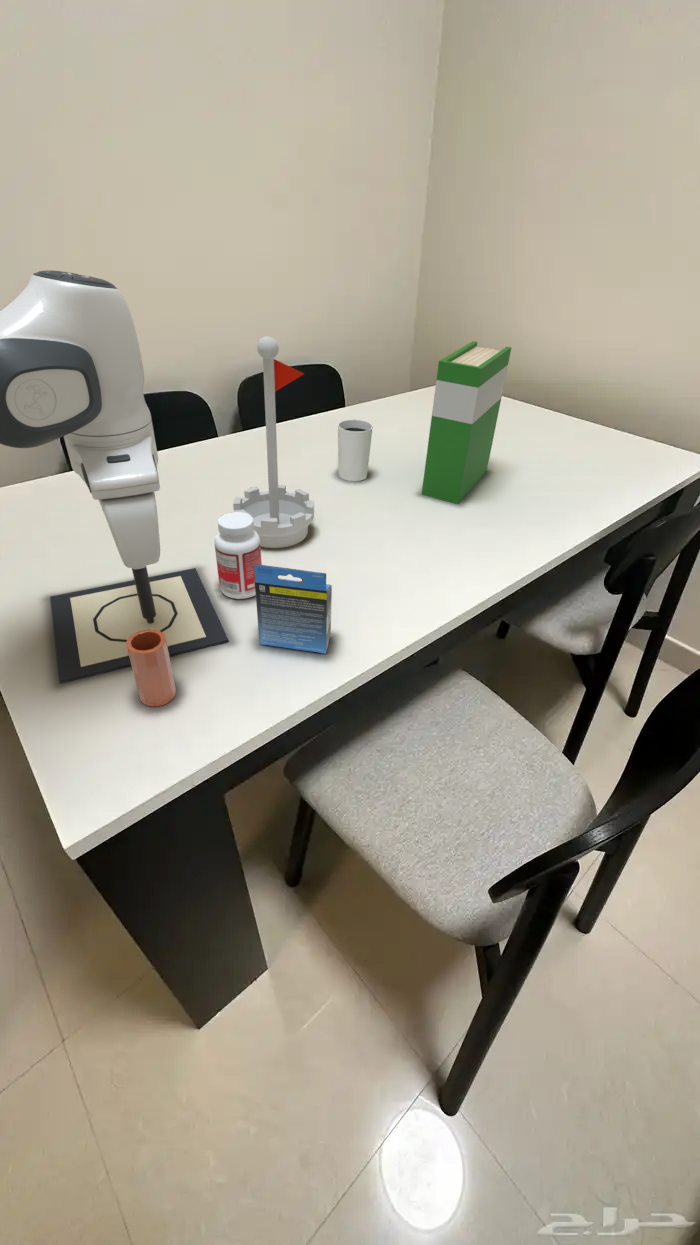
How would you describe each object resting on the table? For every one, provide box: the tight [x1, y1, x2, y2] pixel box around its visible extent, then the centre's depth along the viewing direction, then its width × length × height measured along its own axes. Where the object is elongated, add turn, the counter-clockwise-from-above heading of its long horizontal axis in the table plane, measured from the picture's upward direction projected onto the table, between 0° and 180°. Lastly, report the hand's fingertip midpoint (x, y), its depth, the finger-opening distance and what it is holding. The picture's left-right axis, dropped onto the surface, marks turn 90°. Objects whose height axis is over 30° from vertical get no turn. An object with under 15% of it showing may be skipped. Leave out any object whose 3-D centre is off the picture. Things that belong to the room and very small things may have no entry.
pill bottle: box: [213, 511, 263, 600], centre depth 81 cm, size 6×6×11 cm
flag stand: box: [232, 335, 315, 549], centre depth 88 cm, size 13×13×30 cm
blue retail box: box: [253, 564, 333, 654], centre depth 71 cm, size 9×4×12 cm, turn 81°
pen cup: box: [126, 629, 177, 708], centre depth 64 cm, size 4×4×8 cm
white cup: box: [337, 419, 374, 482], centre depth 113 cm, size 7×7×10 cm
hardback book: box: [421, 340, 512, 505], centre depth 108 cm, size 18×7×24 cm, turn 152°
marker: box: [131, 566, 156, 623], centre depth 72 cm, size 2×2×14 cm
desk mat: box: [49, 567, 229, 684], centre depth 77 cm, size 20×18×1 cm
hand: (136, 559), depth 70 cm, fingers closed on marker, 2 cm apart
